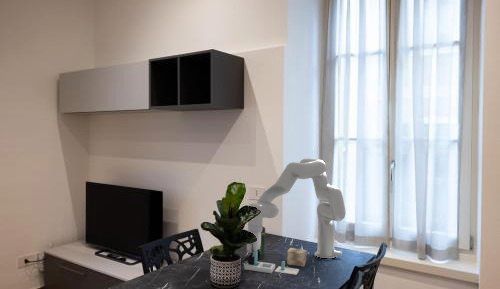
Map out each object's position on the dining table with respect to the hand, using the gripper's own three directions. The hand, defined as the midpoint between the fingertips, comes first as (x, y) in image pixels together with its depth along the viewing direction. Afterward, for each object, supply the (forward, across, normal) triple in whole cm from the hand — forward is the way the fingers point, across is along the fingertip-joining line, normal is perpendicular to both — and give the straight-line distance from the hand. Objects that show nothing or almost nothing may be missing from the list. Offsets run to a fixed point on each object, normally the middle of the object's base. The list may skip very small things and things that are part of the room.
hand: (254, 261), depth 179 cm
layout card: (+4, -3, +17) cm, 17 cm away
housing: (+4, -15, +19) cm, 25 cm away
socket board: (+4, 0, +3) cm, 5 cm away
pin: (+4, 0, 0) cm, 4 cm away
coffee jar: (+4, -17, -4) cm, 18 cm away
